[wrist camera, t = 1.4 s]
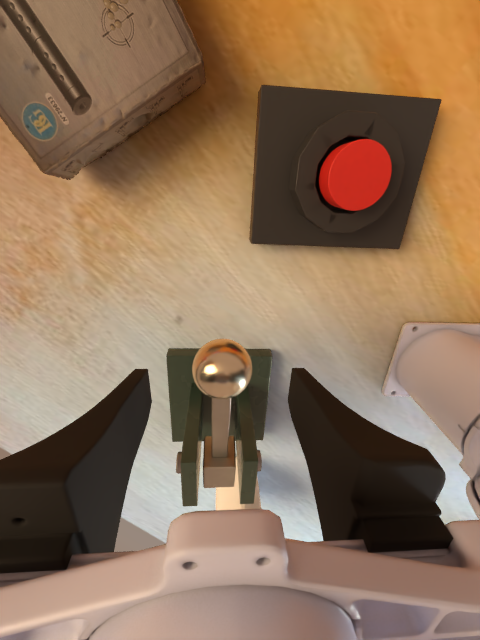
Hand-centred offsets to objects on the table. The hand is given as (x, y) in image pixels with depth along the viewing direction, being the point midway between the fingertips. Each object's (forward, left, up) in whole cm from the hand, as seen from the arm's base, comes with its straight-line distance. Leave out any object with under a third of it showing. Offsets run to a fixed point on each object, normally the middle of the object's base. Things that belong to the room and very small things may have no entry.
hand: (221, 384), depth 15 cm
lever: (0, +4, -4) cm, 5 cm away
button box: (-8, -10, -10) cm, 16 cm away
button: (-8, -10, -8) cm, 15 cm away
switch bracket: (0, +9, -10) cm, 14 cm away
